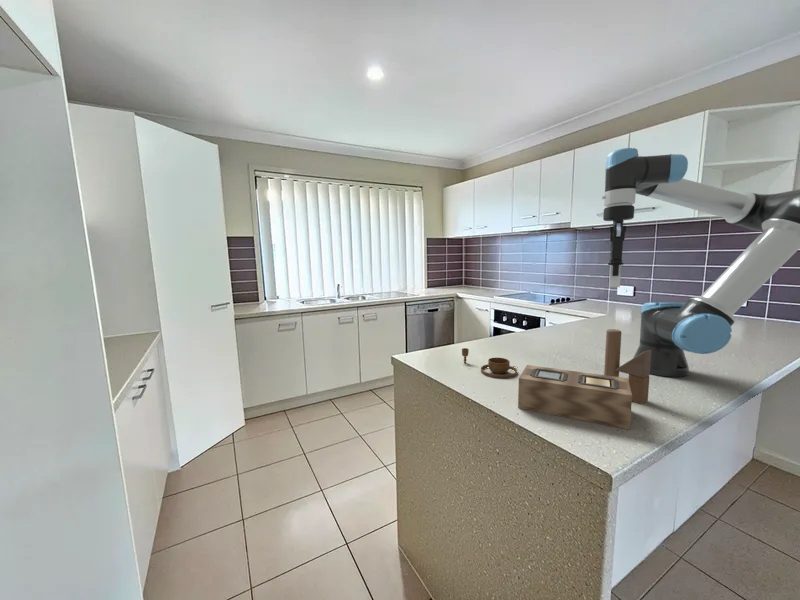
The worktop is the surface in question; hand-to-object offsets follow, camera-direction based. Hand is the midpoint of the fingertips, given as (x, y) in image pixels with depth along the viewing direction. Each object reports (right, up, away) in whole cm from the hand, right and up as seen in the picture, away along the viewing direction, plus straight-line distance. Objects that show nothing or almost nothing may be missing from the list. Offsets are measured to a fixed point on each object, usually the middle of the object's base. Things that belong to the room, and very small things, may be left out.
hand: (614, 286), depth 100 cm
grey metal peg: (-25, -31, -12) cm, 41 cm away
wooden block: (-2, -31, -7) cm, 32 cm away
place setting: (-32, -29, +18) cm, 46 cm away
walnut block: (-20, -32, -14) cm, 40 cm away
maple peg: (-16, -32, -17) cm, 39 cm away
